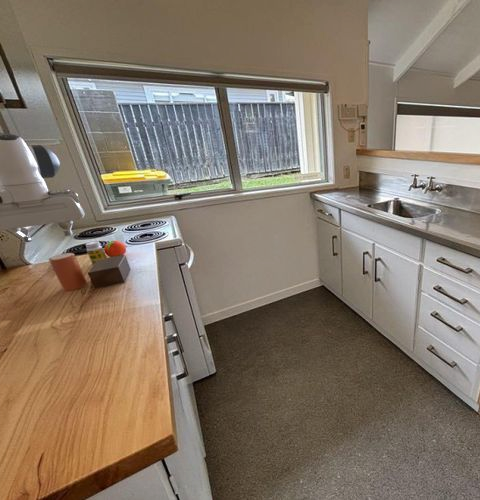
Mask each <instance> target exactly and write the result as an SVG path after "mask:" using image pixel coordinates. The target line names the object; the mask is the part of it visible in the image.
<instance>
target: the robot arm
mask: <svg viewBox="0 0 480 500" xmlns="http://www.w3.org/2000/svg"><path fill="white" fill-rule="evenodd" d="M60 169H61V163H60V160H59V158H58V157H57V155H56V154H55V153H54V152H53V151H52V150H50V149H48V148H47V147H45V146H43V145H41V144H33V145H32V144H31V145H30V144H27V143H26V142H25V140H24V139H23V138H22V137H21V136H19V135H16V134H14V133H13V134H12V133H1V132H0V232H1V231H6V230H10V231H11V233H12V234H13V235H14V236H17V237H18V238H20V239H21V241H22V243H24V244H25V243H32V241H33V238H31V235H30V234H24V233H23V232H21V231H22V228H29V227H30V228H31V227H36V226H43V225H44V226H45V225H51V224H56V223H64V224H65V225H66V226H67V228H66V229H64V230H63V234H64V236H65V237H69V236H73V235H74V232H73V230H72V228H73V224H74V221H78V220H79V221H80V220H82V219H84V218H85V215H86V213H85V211H84V209H83V207H82V205H81V204H80V197H79V195H78V193H77V192H75V191H72V190H69V189H62V190H49V188H48V186H47V183H46V181H45V179H52V178H55V176H56V175H57V174H58V173H59V171H60Z"/></svg>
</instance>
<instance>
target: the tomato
mask: <svg viewBox="0 0 480 500" xmlns="http://www.w3.org/2000/svg"><path fill="white" fill-rule="evenodd" d="M103 250H104V253H105V255H106V256H107V257H108V258H109V257H115V256H120V255H126V252H127V247H126V245H125V244H124V243H123V242H122V241H119V240H111V241H109V242H107V243H106V244H105V245H104V248H103Z"/></svg>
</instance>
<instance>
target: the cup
mask: <svg viewBox="0 0 480 500" xmlns="http://www.w3.org/2000/svg"><path fill="white" fill-rule="evenodd" d="M48 262H49V264H50V266H51V268H52V270H53V272H54V274H55V276H56V278H57V280H58V282H59V284H60V286H61V288H62V290H63V291H64V292H70V291H75V290H78V289H82V288H84V287H86V286H87V285H88V281H87V279H86V277H85V274H84V272H83V270H82V268H81V266H80V264H79V261H78V259H77V256H76V254H75V253H74V252H65V253H60V254H57V255H54V256H51V257H49V258H48Z"/></svg>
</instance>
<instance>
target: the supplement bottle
mask: <svg viewBox="0 0 480 500" xmlns="http://www.w3.org/2000/svg"><path fill="white" fill-rule="evenodd" d="M85 247H86V253H87V255H88V258H89V260H90V263H91V264H92V265H93V264H95V262H96V261H97V260H98V259H104V258H107V254H106V253H105V251H104V248H103V246H102V245H101V243H100V242H99V240H95V241H89V242H86V243H85Z"/></svg>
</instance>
